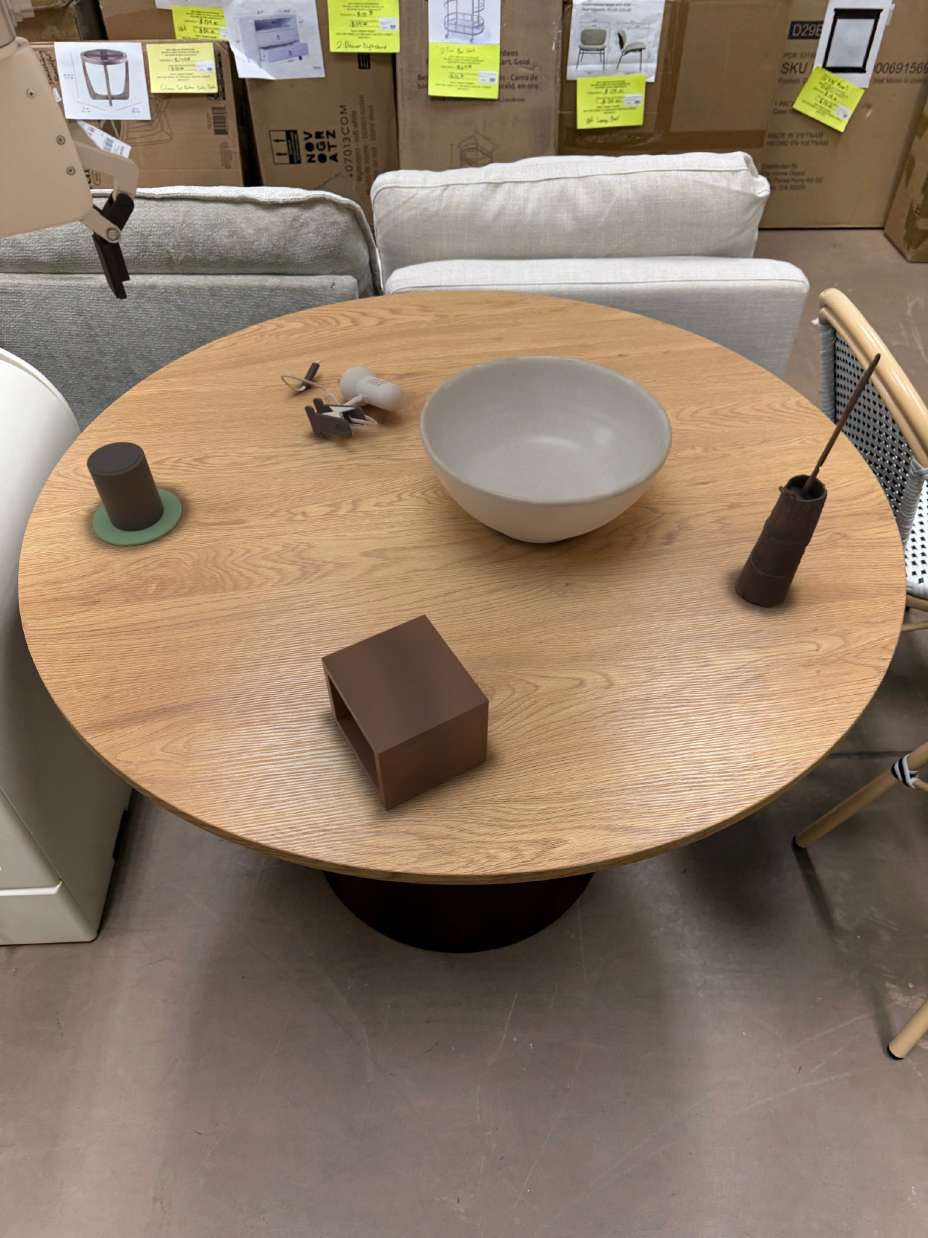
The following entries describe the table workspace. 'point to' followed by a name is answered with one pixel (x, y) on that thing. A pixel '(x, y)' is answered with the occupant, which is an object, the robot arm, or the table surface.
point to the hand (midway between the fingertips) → (51, 307)
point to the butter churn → (790, 526)
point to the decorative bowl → (544, 444)
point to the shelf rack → (407, 709)
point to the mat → (131, 538)
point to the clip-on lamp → (357, 390)
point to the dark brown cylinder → (126, 486)
